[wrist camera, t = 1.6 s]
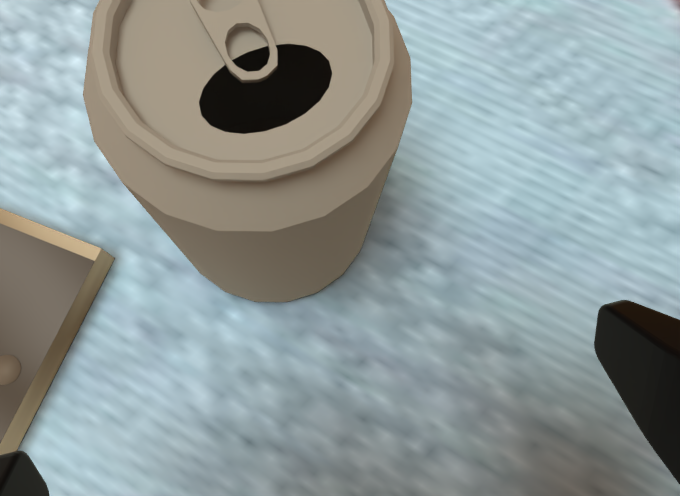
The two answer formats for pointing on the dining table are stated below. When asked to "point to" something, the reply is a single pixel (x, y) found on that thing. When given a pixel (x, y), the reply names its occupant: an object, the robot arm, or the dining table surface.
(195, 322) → the dining table surface
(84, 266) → the subfloor panel
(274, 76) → the can
